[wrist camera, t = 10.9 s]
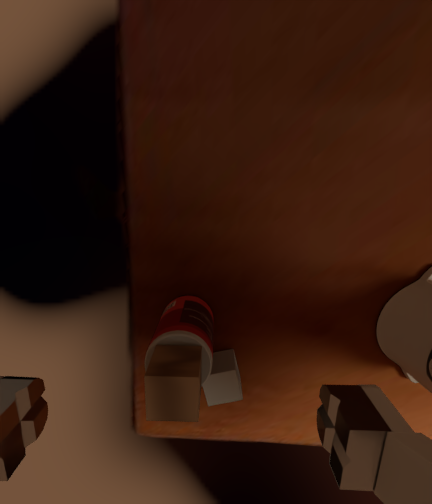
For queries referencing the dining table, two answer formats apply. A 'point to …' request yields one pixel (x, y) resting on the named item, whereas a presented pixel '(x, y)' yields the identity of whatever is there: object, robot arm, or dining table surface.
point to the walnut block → (173, 383)
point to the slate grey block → (223, 379)
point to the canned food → (186, 329)
